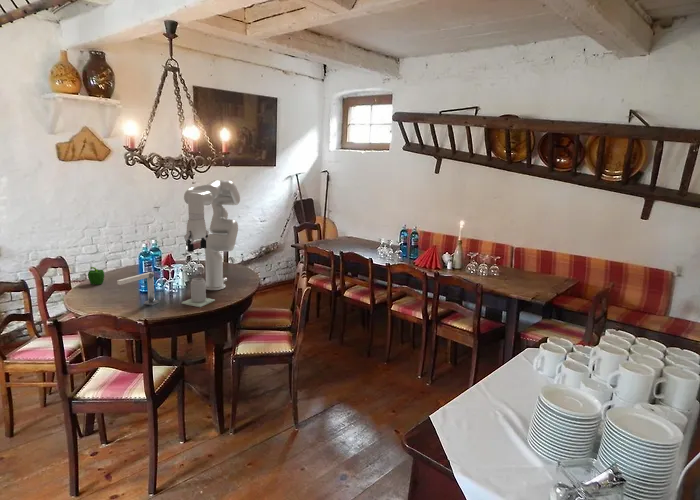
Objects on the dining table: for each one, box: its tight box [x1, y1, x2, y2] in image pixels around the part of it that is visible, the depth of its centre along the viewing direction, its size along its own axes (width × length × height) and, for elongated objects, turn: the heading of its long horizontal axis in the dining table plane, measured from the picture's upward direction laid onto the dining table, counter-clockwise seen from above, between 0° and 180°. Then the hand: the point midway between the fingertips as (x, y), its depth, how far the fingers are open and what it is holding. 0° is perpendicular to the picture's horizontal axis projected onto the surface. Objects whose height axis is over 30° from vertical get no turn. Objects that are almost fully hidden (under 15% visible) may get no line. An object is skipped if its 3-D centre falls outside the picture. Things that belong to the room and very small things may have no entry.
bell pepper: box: [87, 266, 105, 286], centre depth 259 cm, size 8×8×10 cm
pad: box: [181, 297, 216, 308], centre depth 238 cm, size 12×12×1 cm
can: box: [190, 277, 207, 303], centre depth 237 cm, size 8×8×12 cm
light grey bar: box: [116, 271, 155, 286], centre depth 222 cm, size 20×4×2 cm, turn 154°
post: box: [143, 276, 160, 306], centre depth 231 cm, size 5×5×14 cm
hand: (197, 249), depth 232 cm, fingers open, 9 cm apart
